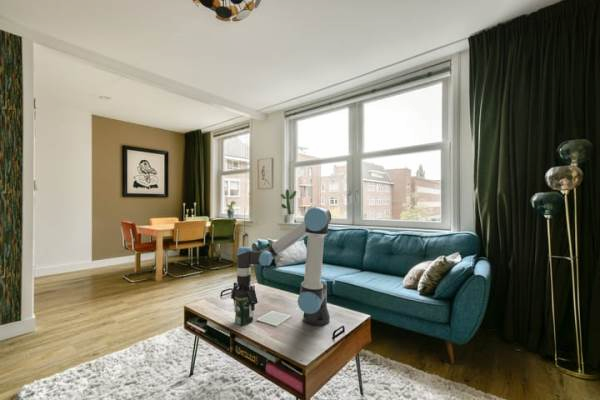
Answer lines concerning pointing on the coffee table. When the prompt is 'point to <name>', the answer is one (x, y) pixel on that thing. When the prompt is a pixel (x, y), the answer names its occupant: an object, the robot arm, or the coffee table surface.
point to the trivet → (274, 318)
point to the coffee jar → (242, 308)
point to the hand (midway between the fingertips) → (243, 313)
